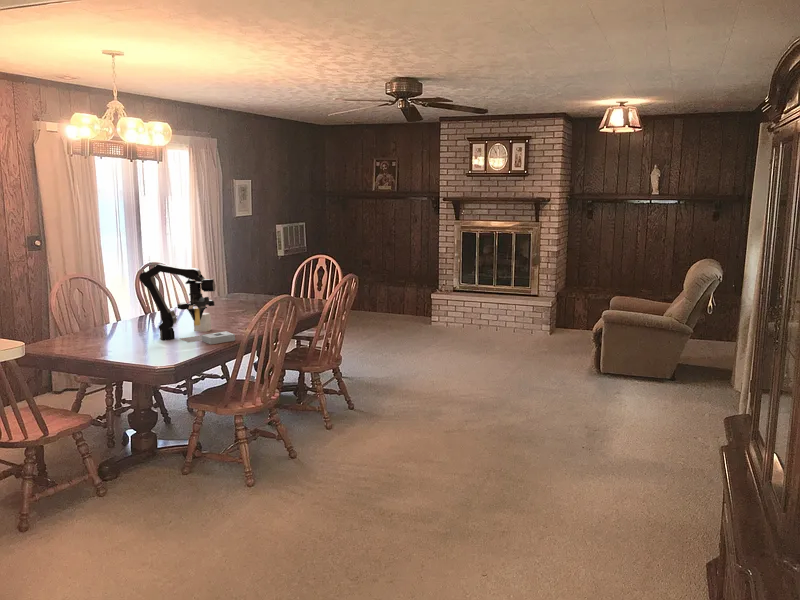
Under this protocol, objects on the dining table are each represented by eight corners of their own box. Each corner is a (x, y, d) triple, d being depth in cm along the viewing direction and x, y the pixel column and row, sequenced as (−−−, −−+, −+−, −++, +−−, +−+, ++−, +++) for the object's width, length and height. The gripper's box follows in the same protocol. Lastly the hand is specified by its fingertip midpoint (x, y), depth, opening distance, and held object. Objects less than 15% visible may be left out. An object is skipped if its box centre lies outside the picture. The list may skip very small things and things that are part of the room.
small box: (211, 330, 383) (210, 312, 382) (206, 332, 378) (205, 314, 376) (199, 330, 385) (198, 312, 384) (193, 332, 380) (193, 313, 378)
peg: (195, 325, 358) (194, 309, 356) (193, 324, 360) (192, 308, 358) (201, 325, 360) (200, 308, 358) (198, 324, 362) (197, 307, 360)
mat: (188, 343, 352) (188, 342, 351) (179, 339, 360) (179, 338, 360) (212, 339, 360) (212, 338, 360) (203, 336, 369) (203, 334, 369)
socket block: (210, 345, 347) (210, 338, 346) (202, 342, 354) (201, 334, 354) (235, 341, 356) (234, 334, 355) (226, 338, 363) (226, 331, 363)
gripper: (184, 295, 345) (186, 324, 347) (218, 291, 357) (219, 320, 359) (176, 292, 353) (178, 321, 356) (209, 289, 365) (210, 317, 368)
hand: (197, 320), depth 359 cm, fingers closed on peg, 3 cm apart
